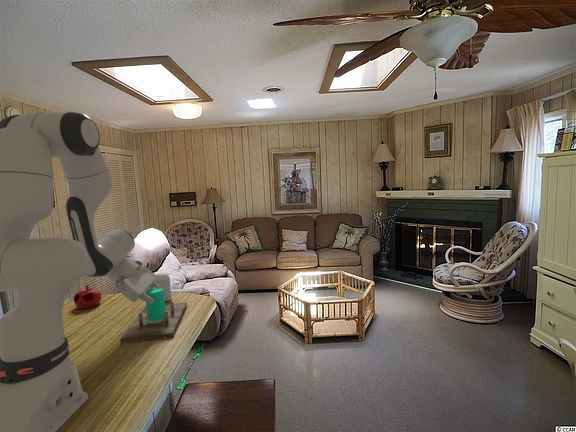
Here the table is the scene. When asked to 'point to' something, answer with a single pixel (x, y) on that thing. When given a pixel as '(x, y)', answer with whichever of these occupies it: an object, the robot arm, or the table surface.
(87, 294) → the pomegranate
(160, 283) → the photo printer
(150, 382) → the table surface
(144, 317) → the candle stand
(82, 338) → the table surface
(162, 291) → the candle
